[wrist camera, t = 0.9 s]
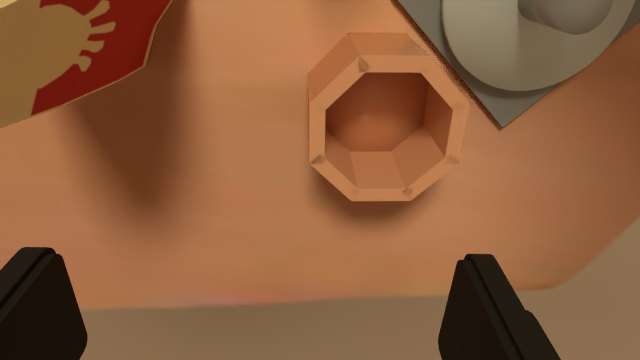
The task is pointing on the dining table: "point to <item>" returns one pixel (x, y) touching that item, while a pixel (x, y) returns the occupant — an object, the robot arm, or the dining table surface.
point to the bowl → (383, 118)
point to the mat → (501, 103)
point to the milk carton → (69, 50)
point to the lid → (529, 37)
